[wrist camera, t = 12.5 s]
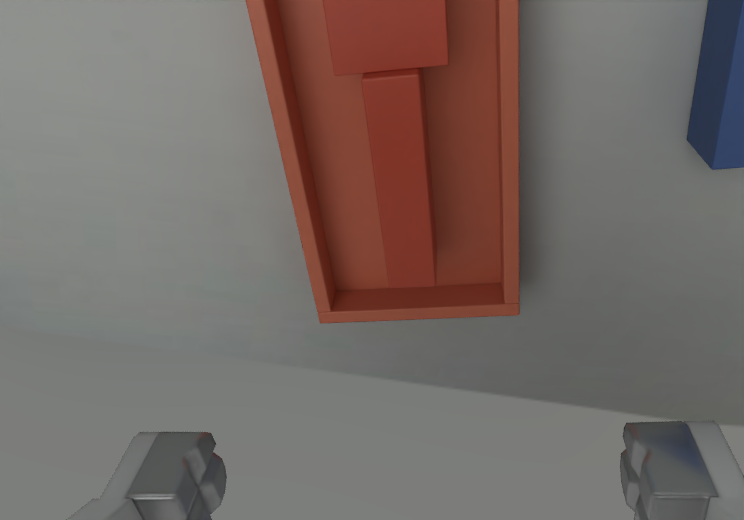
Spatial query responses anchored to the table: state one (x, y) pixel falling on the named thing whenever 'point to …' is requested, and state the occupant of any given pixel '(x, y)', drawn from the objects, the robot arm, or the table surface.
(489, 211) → the red tray
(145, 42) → the table surface
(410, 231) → the red stepped bar
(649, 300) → the table surface
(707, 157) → the blue stepped bar
